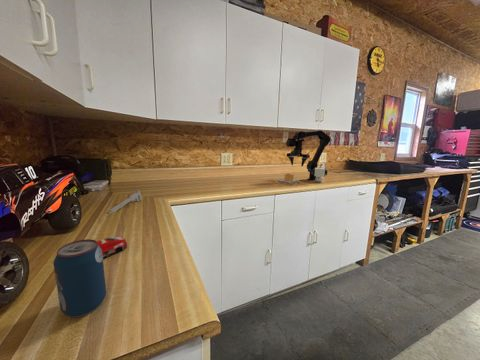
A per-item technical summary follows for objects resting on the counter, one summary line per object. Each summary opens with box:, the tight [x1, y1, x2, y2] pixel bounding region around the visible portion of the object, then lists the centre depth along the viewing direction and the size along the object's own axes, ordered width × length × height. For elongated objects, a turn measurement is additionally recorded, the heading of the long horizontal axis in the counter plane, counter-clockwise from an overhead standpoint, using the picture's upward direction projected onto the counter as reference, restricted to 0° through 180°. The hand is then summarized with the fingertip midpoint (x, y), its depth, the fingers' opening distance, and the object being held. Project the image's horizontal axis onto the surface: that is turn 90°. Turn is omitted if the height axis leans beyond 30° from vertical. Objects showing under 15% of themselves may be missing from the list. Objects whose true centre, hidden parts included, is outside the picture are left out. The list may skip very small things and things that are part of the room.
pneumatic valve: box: [312, 166, 328, 183], centre depth 171 cm, size 6×12×12 cm, turn 78°
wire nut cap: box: [283, 172, 294, 181], centre depth 168 cm, size 5×5×6 cm
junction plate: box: [277, 178, 301, 185], centre depth 168 cm, size 13×13×4 cm
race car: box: [96, 236, 128, 260], centre depth 55 cm, size 13×5×4 cm, turn 147°
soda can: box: [53, 238, 107, 318], centre depth 38 cm, size 7×7×12 cm
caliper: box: [107, 188, 142, 214], centre depth 95 cm, size 20×1×6 cm, turn 169°
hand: (296, 165), depth 174 cm, fingers open, 9 cm apart
